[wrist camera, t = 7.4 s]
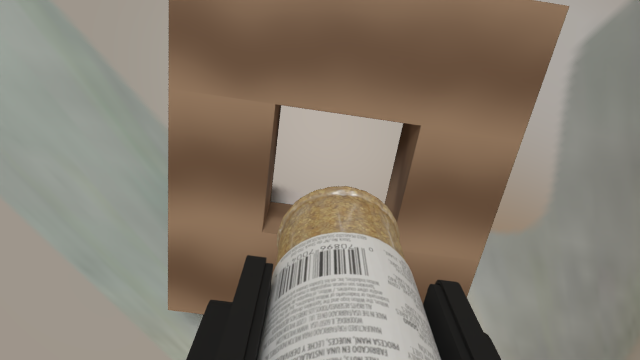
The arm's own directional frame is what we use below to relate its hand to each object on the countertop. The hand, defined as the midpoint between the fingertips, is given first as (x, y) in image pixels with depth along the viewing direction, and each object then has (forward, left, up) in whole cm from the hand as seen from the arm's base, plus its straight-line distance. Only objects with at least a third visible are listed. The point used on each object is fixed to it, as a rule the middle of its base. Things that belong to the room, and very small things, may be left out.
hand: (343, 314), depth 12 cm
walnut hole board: (0, 0, -13) cm, 13 cm away
